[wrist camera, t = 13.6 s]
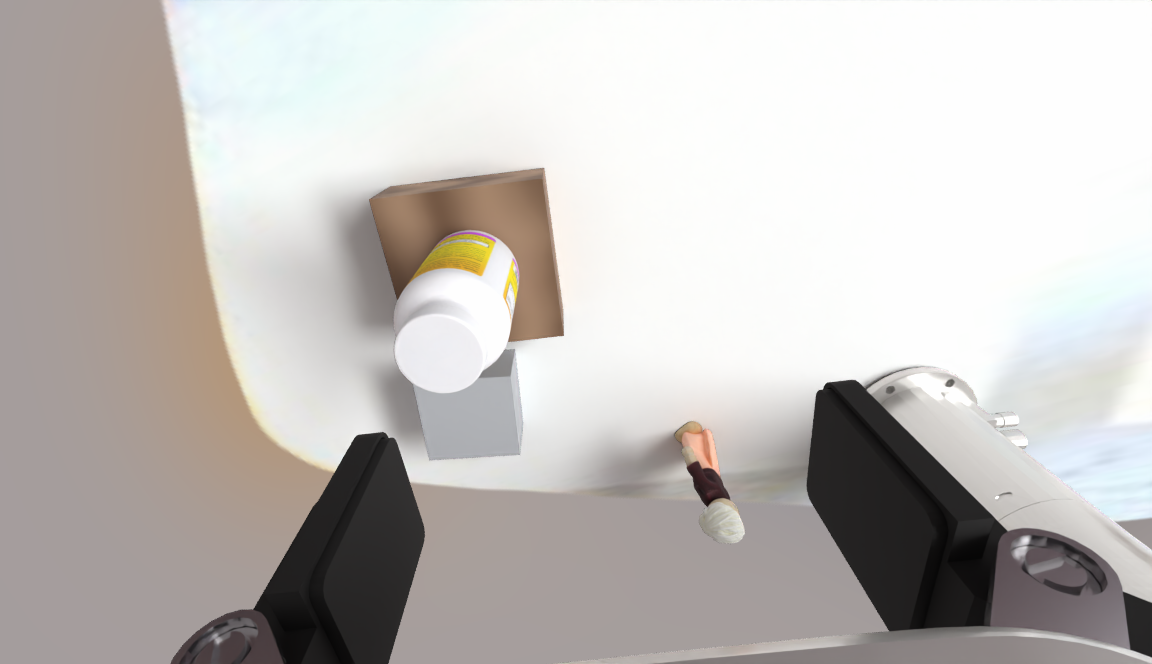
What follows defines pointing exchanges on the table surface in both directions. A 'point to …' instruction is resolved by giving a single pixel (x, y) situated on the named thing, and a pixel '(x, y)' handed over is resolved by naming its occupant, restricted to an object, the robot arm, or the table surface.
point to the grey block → (475, 415)
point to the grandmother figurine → (709, 485)
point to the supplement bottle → (456, 312)
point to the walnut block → (490, 206)
